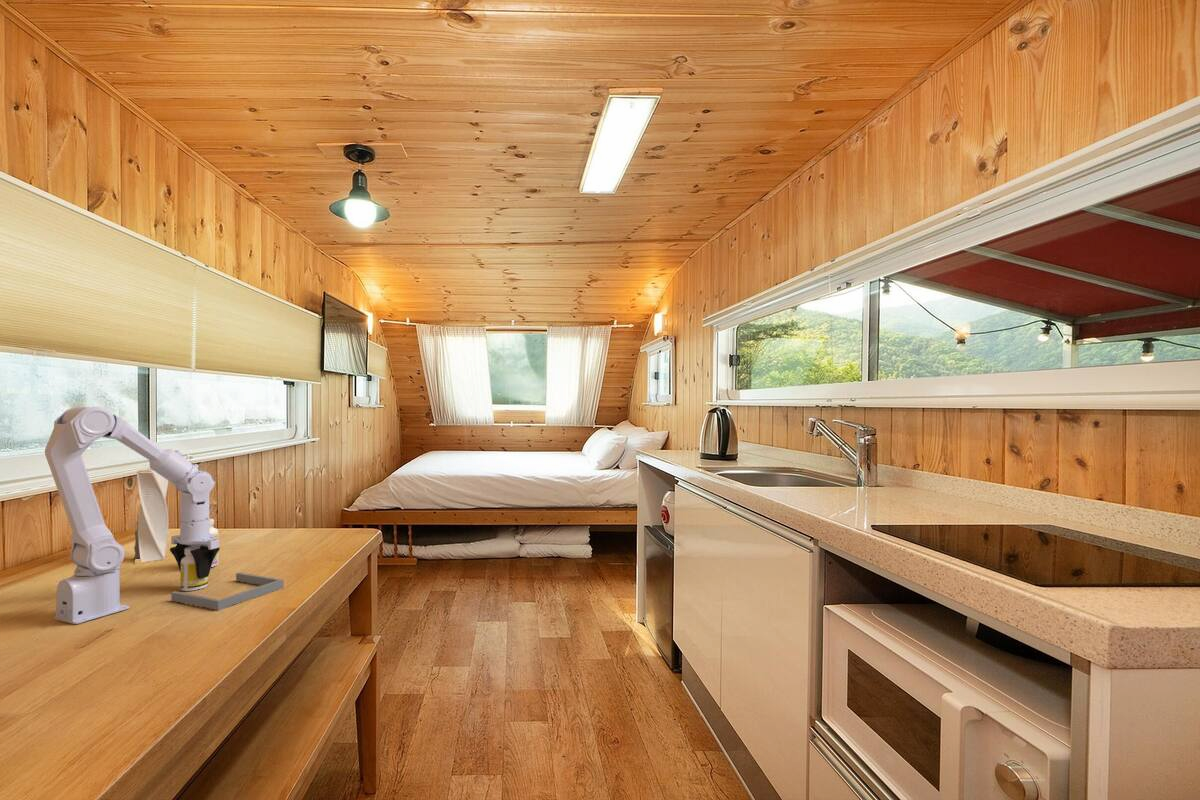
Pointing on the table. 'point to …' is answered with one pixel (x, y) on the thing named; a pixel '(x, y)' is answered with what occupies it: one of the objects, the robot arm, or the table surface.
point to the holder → (267, 587)
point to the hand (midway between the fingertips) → (194, 575)
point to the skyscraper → (151, 517)
